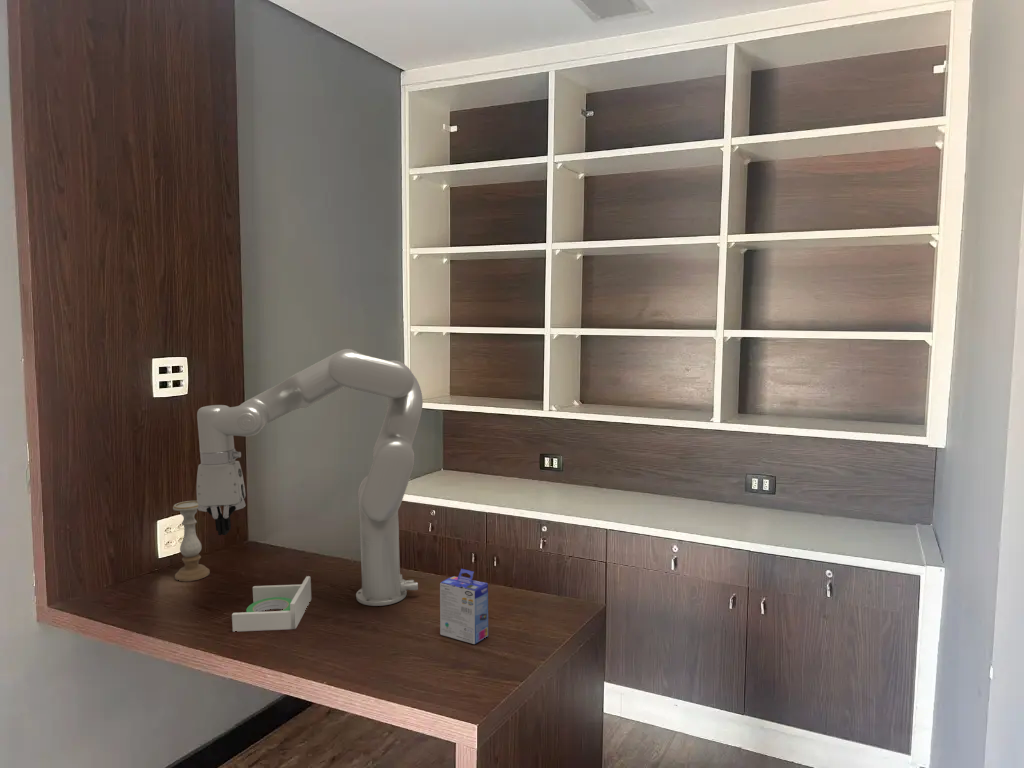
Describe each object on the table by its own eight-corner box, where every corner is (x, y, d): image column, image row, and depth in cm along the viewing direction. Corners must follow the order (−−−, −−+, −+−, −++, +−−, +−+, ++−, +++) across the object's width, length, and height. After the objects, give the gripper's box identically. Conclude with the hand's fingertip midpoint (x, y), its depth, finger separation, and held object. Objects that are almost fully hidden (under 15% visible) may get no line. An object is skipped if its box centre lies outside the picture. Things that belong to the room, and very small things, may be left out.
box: (311, 599, 180) (310, 576, 179) (295, 629, 163) (294, 603, 162) (254, 601, 179) (253, 578, 178) (232, 631, 162) (231, 606, 161)
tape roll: (279, 629, 164) (278, 617, 164) (236, 624, 167) (236, 613, 166) (304, 609, 175) (304, 599, 174) (264, 605, 177) (263, 595, 177)
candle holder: (179, 584, 191) (174, 510, 189) (171, 575, 198) (166, 503, 196) (213, 576, 197) (209, 504, 195) (204, 567, 203) (200, 498, 201)
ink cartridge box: (490, 635, 158) (489, 572, 157) (476, 645, 154) (474, 580, 152) (454, 626, 163) (453, 564, 162) (439, 635, 159) (437, 572, 157)
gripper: (254, 453, 173) (260, 527, 175) (191, 456, 172) (197, 530, 174) (245, 459, 165) (251, 536, 167) (179, 462, 164) (185, 540, 166)
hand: (223, 533), depth 170 cm, fingers closed
